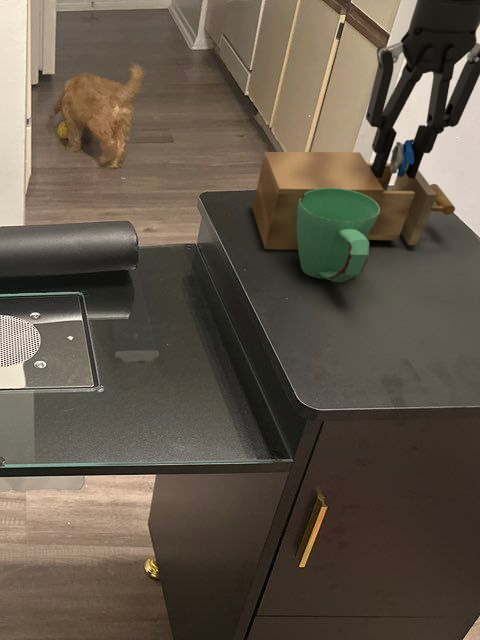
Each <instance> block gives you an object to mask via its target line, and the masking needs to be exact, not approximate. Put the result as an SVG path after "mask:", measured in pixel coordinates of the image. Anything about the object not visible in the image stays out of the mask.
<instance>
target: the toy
mask: <svg viewBox="0 0 480 640" xmlns="http://www.w3.org/2000/svg"><path fill="white" fill-rule="evenodd" d="M413 141H414V139H413V138H412V139H406V140H405V142H403V143H402V142H401V141H397V142H396V143H395V144H396V145H394V147H393V148H392V150H391V157H390V162H389V163H390V165H389V167H390V171H391V173H390V174H392V175H393V174H396V177H397V176H398V177H403V176H404V175H405V173H406V172H407V170H408V166H409V163H410V164H412V165H413V163H414V152H413V150H412V145H413Z"/></svg>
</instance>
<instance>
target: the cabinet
mask: <svg viewBox="0 0 480 640" xmlns="http://www.w3.org/2000/svg"><path fill="white" fill-rule="evenodd" d="M367 163H368V162H367V161H366V160H365V158H364V156H363V154H362V153H361V152H358V151H356V152H353V151H349V152H348V151H347V152H346V151H344V152H343V151H340V152H339V151H318V152H317V151H264V153H263V158H262V163H261V167H260V170H259V171H260V172H259V176H258V181H257V186H256V189H255V190H256V191H255V195H254V199H253V203H252V209H251V210H252V213H253V216H254V219H255V222H256V225H257V230H258V231H259V235H260V238H261V242H262V245H263V247H264V249H265V250H279V251H280V250H283V251H285V250H286V251H298V241H297V213H298V203H299V200H300V198H301V199H302V197H303V195H304V194H305V193H306V192H308V191H312V190H315V189H322V188H340V189H346V190H352V191H355V192H358V193H362V194H364V195H366V196H368V197H370V198H372V199H373V200H374V201H375V202H377V203H378V205H379V202H380V199H381V197H382V194H383V191H384V189H383V188H382V186H381V185H380V183H379V182H378V180H377V178H376V177H375V175H374V174H373V172H372V171H371V169H370V168H369V166H368V164H367ZM368 235H369V233H368ZM368 235H367V237H366V238H368Z"/></svg>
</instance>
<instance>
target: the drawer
mask: <svg viewBox="0 0 480 640" xmlns="http://www.w3.org/2000/svg"><path fill="white" fill-rule="evenodd" d="M366 163H367V164H368V166H369V168H370V169H371V168H372V165H373V162H366ZM390 163H391V162H387V164H386V167H385V170H384V173H383V176H382V178H377V180H378V182H379V183H380V185H381V186H382V188H383V189H384V191H383V194H382V197H381V199H380V202H379V207H380V211H379V215H378V218H377V220H376V222H375V223H374V225H373V227H372V228H371V230H370V232H369V235H368V238H367V240H368V241H399V239H400V236H401V235H402V237H403V239H404V240H405V242H406V243H407V245H408V246H418V245H419V242H420V240H421V237H422V234H423V232H424V229H425V227H426V224H427V222H428V219H429V217H430V214H431V212H442V213H443V215H445V216H451V215H452V214H453V213H455V211H456V207H455V206H454V204H453V203H452V202H451V200H450V199H449V198H448V196H447V195H446V194H445V193H444V191H443V190H442V189H441V187H440V186H439V185H438V184H437V183H432V184H430V183H429V182H428V181H427V179H426V177H425V176H424V175H423V174H422V173H421V171H420V170H419V169H418V171H417V174H416V177H415V178H409V177H408V176H407V174H406V173H405V175H404V176H403V177H398V176H397V175H396V178H395V180H394V183H393V186H392V189H391V190H388V188H389V185H390V182H391V179H392V176H393V174H390V173H391V171H390V167H389V165H390ZM434 204H436V205H434Z"/></svg>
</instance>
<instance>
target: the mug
mask: <svg viewBox="0 0 480 640" xmlns="http://www.w3.org/2000/svg"><path fill="white" fill-rule="evenodd" d="M379 211H380V207H379V205H378V203H377V202H375V201H374V200H373V199H372V198H370V197H368V196H366V195H364V194H362V193H358V192H355V191H352V190H346V189H340V188H322V189H315V190H312V191H308V192H306V193H305V194H304V195H303V197H302V199H301V198H300V200H299V203H298V213H297V241H298V250H297V251H298V252H297V253H298V258H299V263H300V268H301V271H302V272H303V273H304V274H306V275H308V276H309V277H312V278H314V279H323V280H324V279H325V280H329V282H330V281H331V282H333V283H343V282H346V281H348V280H350V279H352V278H354V277H355V276H357V275H359V274H361V273H362V272H363V270H364V268H365V266H366V264H367V261H368V260H369V257H370V254H371V253H370V240H367V238H366V237H367V235H368V233H369V232H370V230H371V228H372V227H373V225H374V223H375V222H376V220H377V218H378V215H379Z"/></svg>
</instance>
